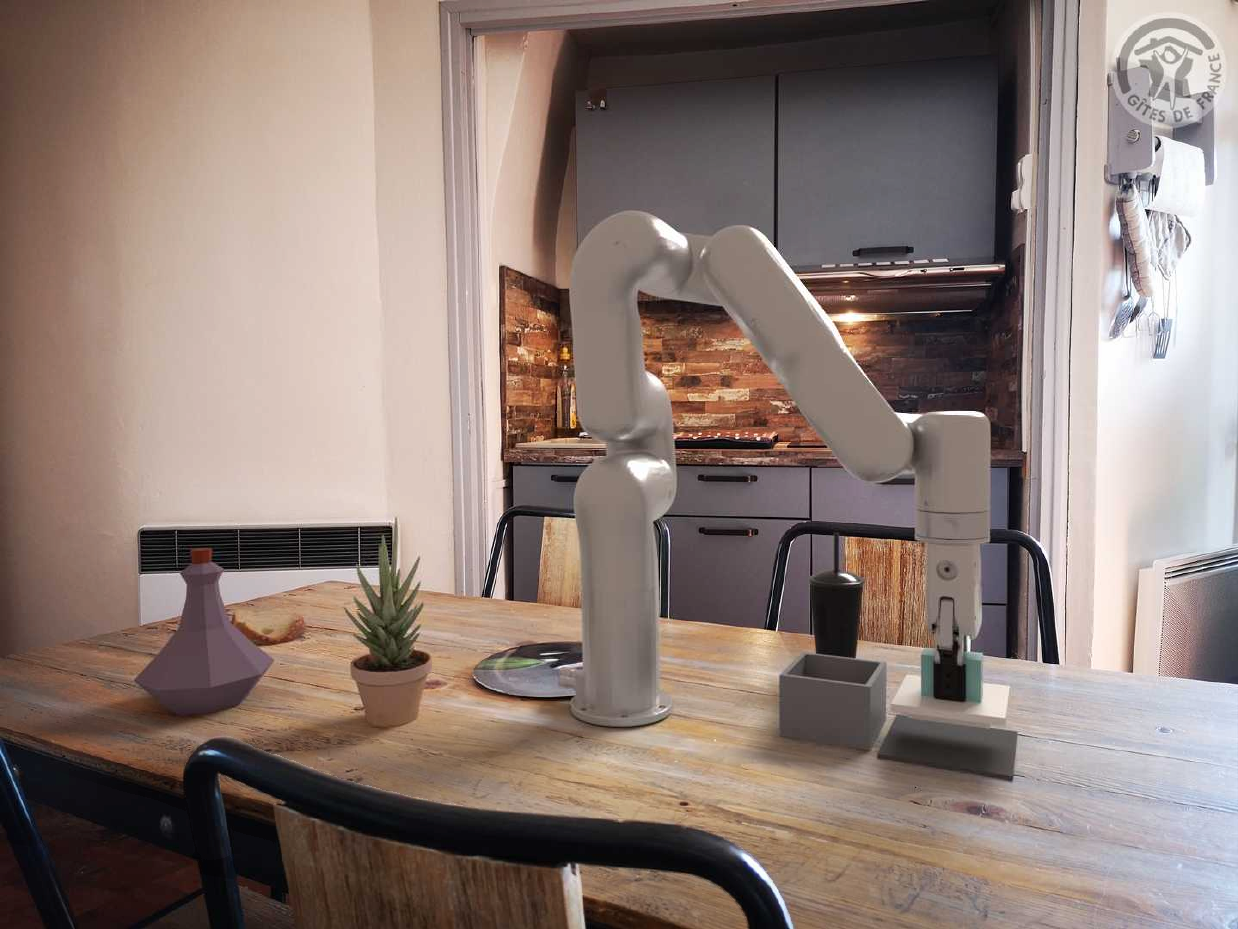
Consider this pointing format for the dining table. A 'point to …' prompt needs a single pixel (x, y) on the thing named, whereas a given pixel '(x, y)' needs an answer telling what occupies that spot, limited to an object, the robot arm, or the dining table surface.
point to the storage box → (833, 700)
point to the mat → (951, 746)
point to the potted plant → (389, 647)
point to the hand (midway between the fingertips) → (951, 693)
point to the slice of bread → (268, 626)
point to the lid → (976, 711)
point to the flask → (204, 651)
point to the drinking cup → (836, 609)
